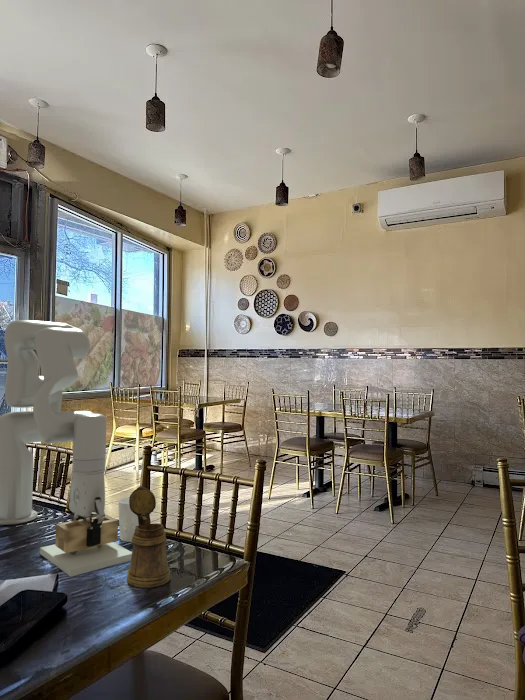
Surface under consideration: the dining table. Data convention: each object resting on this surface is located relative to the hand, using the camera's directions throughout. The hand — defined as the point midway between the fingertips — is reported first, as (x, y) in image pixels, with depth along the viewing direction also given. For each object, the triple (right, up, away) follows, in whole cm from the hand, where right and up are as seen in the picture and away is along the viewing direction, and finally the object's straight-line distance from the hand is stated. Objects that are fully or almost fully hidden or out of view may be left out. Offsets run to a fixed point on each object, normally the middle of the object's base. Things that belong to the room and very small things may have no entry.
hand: (86, 540), depth 120 cm
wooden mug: (+17, -4, -10) cm, 20 cm away
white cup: (+7, -5, +14) cm, 16 cm away
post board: (0, -4, 0) cm, 4 cm away
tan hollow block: (0, -1, 0) cm, 1 cm away
